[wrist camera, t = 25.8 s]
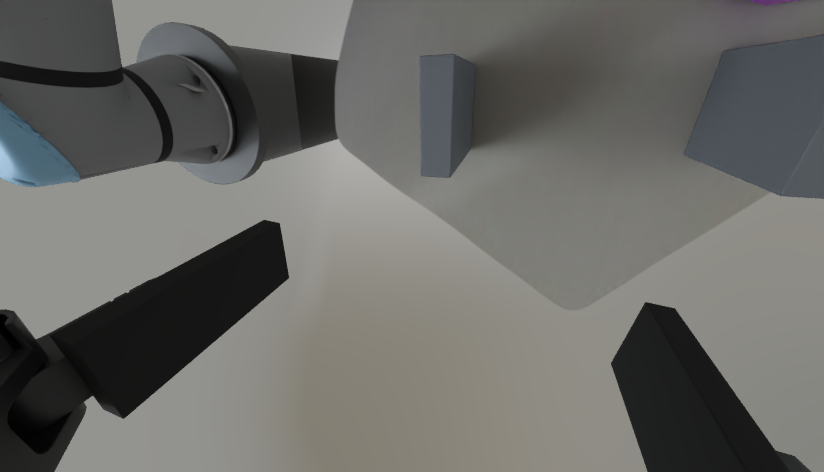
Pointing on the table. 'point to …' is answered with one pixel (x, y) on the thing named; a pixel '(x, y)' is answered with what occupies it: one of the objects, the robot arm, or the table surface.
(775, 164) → the grey book
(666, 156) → the table surface
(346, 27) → the table surface
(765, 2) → the crystal
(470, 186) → the table surface
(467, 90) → the grey book
